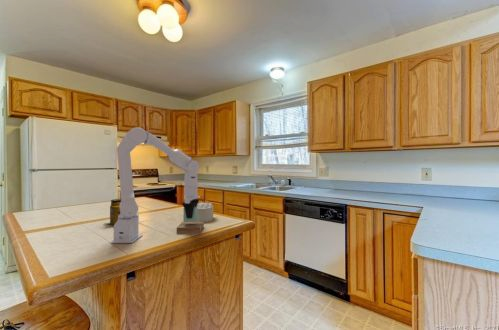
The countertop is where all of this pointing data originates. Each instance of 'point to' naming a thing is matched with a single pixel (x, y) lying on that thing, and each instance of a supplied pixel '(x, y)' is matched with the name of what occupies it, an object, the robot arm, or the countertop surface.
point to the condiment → (114, 212)
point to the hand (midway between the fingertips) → (190, 216)
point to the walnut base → (190, 228)
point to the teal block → (192, 216)
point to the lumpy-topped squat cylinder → (204, 212)
